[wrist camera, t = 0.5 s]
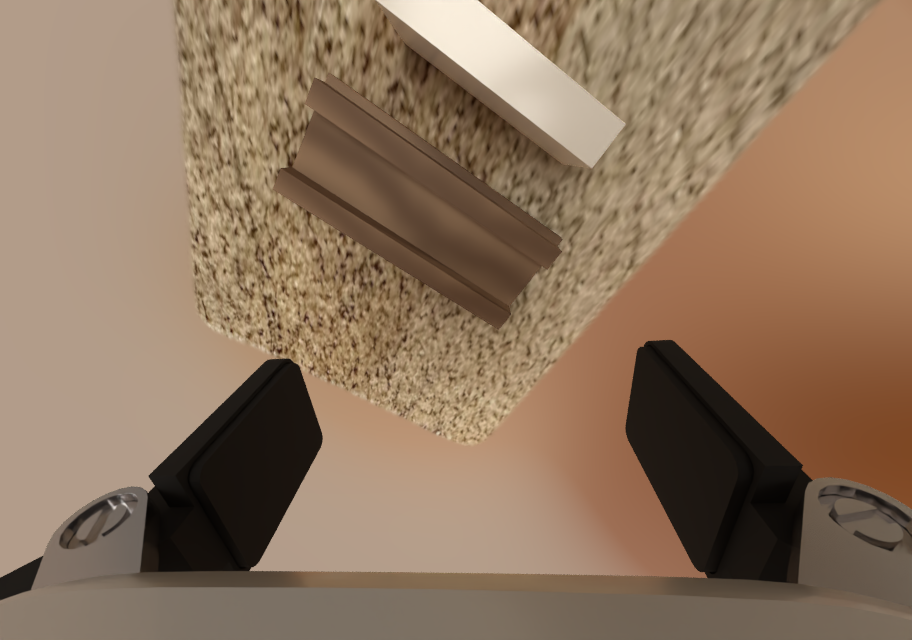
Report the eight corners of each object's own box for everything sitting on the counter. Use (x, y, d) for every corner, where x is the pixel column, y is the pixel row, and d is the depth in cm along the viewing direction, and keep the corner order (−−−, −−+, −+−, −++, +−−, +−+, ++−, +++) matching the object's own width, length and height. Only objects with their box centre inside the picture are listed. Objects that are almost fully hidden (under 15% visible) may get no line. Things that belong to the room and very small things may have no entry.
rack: (333, 75, 29) (318, 67, 26) (560, 236, 33) (567, 244, 30) (287, 193, 33) (270, 197, 30) (493, 321, 38) (494, 334, 35)
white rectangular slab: (424, 2, 26) (399, -65, 18) (585, 131, 29) (626, 123, 21) (405, 43, 27) (374, -2, 19) (562, 164, 31) (591, 168, 22)
